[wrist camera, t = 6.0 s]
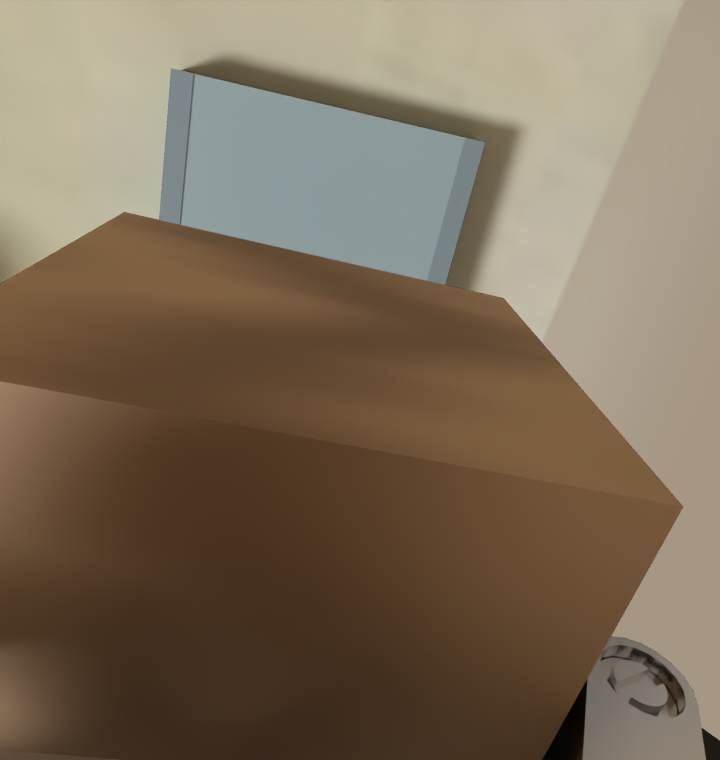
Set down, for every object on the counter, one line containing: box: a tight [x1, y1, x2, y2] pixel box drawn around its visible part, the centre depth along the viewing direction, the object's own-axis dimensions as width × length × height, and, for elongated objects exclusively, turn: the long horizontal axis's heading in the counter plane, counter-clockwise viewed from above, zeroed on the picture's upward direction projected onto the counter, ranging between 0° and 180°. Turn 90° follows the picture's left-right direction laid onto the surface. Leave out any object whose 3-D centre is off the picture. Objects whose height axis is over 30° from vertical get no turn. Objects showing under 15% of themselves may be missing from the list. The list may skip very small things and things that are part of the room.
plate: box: [159, 69, 485, 285], centre depth 26 cm, size 12×12×2 cm
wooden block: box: [0, 212, 683, 760], centre depth 9 cm, size 6×8×6 cm
